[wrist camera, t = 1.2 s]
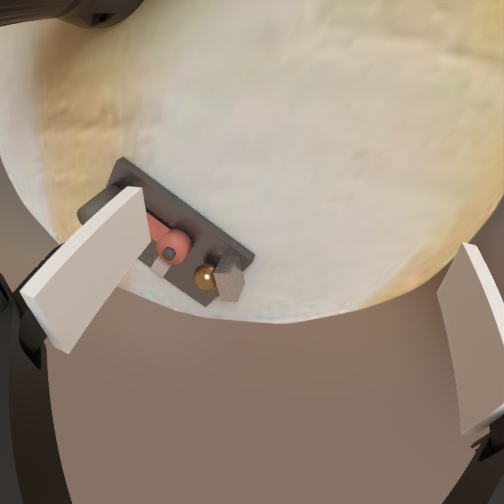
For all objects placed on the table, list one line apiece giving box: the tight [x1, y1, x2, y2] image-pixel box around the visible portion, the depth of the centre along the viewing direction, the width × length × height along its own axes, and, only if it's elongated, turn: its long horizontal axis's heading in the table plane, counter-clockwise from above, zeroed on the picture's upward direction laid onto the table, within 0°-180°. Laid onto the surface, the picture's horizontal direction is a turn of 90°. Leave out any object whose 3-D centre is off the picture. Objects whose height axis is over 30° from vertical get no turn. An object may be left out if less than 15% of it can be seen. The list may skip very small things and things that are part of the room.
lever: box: [77, 185, 192, 278], centre depth 41 cm, size 16×9×7 cm, turn 54°
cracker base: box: [106, 157, 255, 307], centre depth 44 cm, size 26×14×6 cm, turn 54°
